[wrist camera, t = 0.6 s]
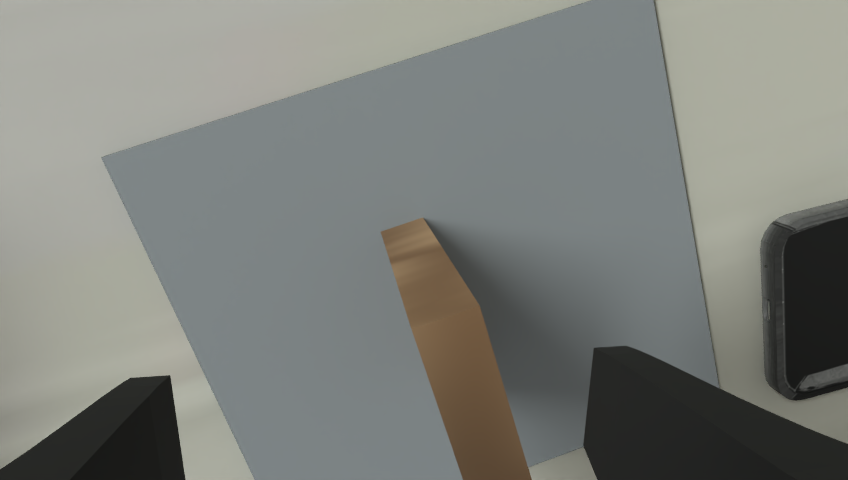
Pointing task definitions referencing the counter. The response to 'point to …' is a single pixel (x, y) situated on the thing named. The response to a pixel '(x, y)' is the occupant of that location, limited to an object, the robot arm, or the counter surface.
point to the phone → (806, 301)
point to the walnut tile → (456, 355)
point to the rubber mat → (453, 228)
